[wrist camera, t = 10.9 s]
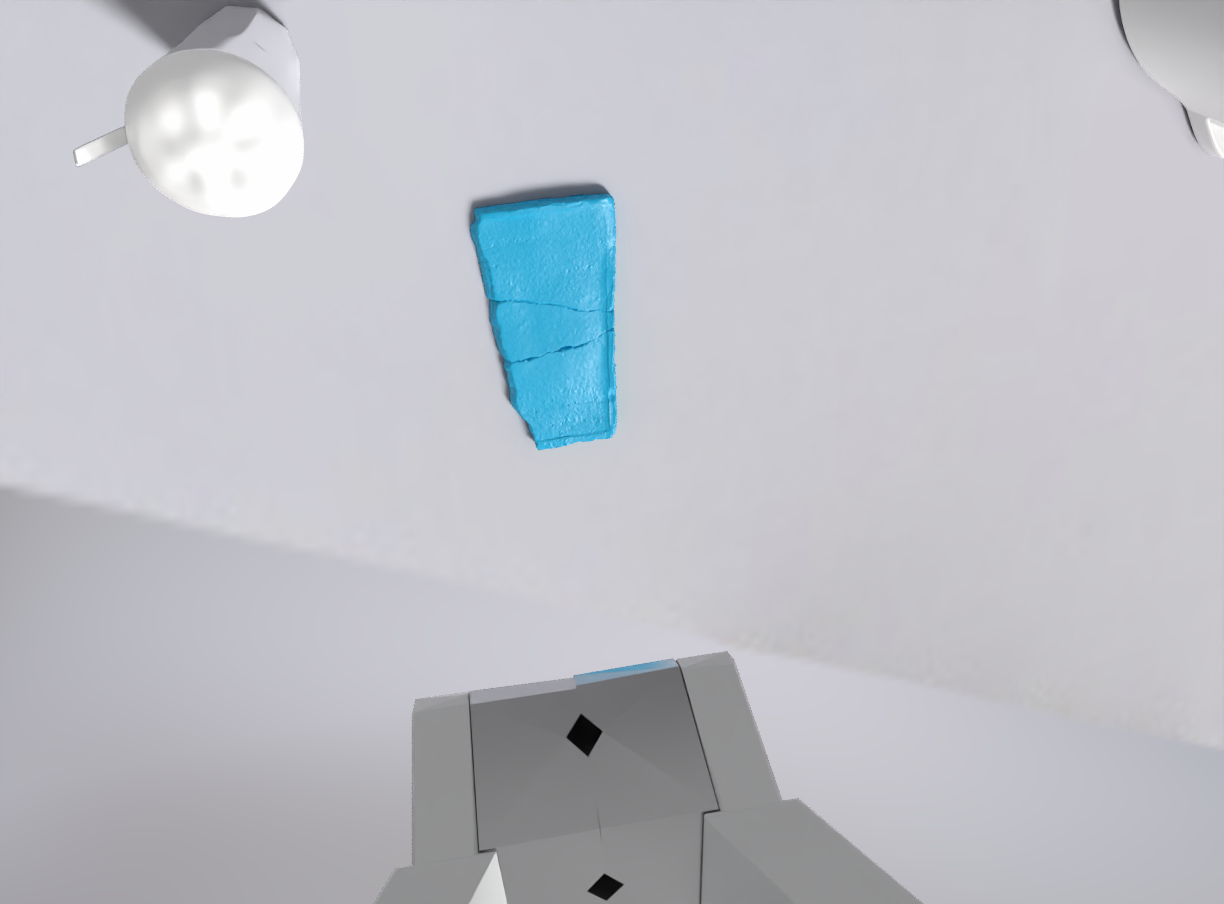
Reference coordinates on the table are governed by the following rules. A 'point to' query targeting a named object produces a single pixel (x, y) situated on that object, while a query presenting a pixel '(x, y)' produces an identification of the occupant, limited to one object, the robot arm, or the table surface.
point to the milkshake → (217, 117)
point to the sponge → (554, 311)
